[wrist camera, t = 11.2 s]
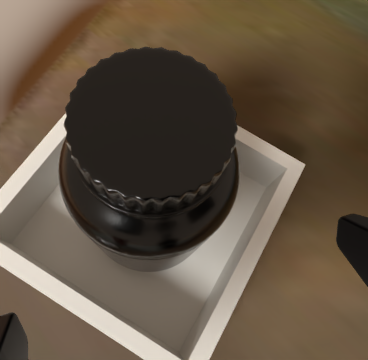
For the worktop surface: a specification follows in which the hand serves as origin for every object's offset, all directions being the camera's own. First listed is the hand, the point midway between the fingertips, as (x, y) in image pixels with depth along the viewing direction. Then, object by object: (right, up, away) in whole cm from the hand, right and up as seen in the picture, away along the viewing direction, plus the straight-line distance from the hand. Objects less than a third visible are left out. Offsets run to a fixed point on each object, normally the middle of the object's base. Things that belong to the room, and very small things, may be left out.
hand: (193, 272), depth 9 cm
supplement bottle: (-2, 0, +12) cm, 12 cm away
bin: (-3, 0, +12) cm, 12 cm away
